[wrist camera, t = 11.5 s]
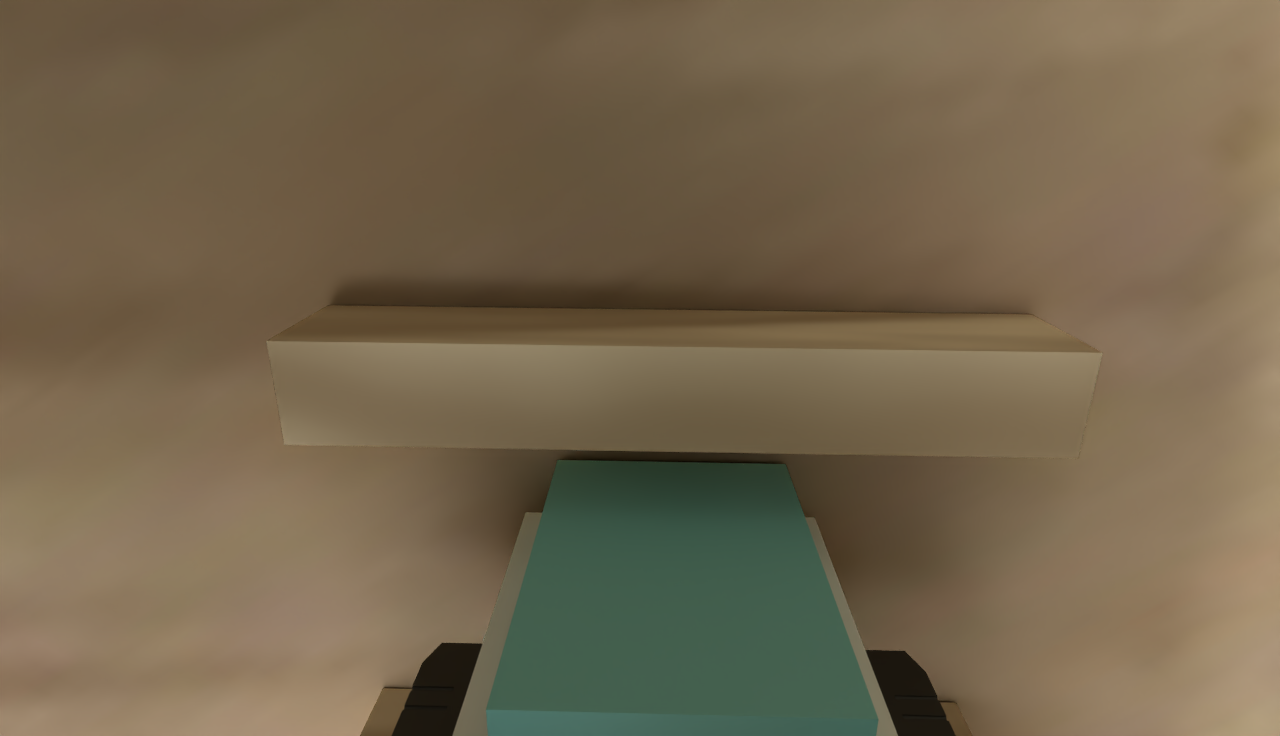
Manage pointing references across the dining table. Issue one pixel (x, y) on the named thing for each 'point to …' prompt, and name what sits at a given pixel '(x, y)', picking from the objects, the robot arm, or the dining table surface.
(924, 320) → the beige rail frame
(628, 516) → the teal block
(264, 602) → the dining table surface
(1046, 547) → the dining table surface
